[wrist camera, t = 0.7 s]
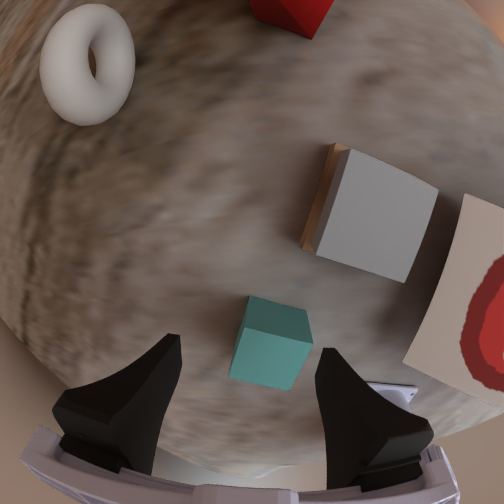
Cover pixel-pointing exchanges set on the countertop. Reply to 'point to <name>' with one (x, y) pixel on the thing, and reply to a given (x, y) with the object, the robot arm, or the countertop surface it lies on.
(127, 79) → the donut
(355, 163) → the tower top
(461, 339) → the stacked pizza boxes
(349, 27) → the countertop surface
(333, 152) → the block
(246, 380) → the teal cube
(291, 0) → the french fries
